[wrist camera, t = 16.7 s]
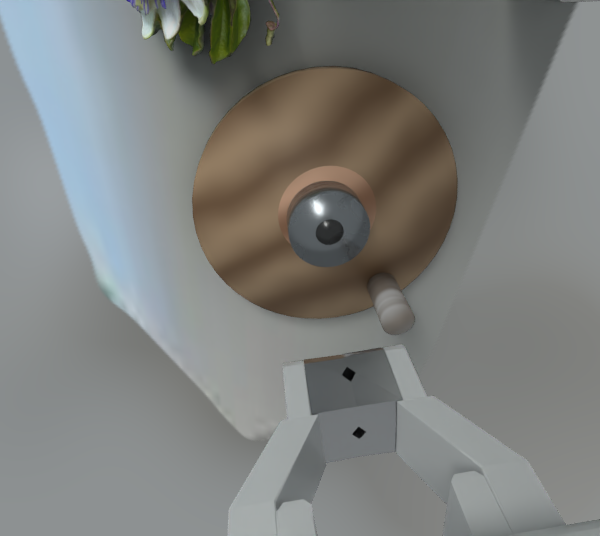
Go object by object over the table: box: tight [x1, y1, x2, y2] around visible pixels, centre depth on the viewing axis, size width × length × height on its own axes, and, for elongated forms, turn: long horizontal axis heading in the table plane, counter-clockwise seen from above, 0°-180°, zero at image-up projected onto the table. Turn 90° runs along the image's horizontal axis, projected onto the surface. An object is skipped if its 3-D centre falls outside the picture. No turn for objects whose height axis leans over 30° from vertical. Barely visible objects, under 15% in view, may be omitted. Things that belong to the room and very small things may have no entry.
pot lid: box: [287, 181, 370, 267], centre depth 37 cm, size 7×7×3 cm
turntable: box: [192, 66, 458, 335], centre depth 36 cm, size 24×24×8 cm
